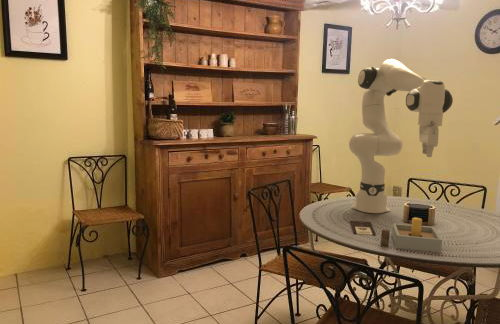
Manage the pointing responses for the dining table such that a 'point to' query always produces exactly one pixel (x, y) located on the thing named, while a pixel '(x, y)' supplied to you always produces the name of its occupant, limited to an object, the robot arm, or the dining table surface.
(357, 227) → the chocolate bar
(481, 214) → the dining table surface
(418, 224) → the dowel
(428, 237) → the square frame
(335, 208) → the dining table surface
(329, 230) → the dining table surface
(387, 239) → the short dark dowel
